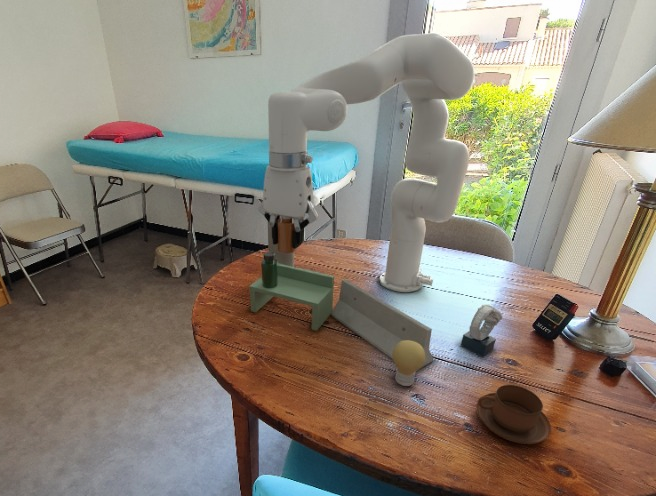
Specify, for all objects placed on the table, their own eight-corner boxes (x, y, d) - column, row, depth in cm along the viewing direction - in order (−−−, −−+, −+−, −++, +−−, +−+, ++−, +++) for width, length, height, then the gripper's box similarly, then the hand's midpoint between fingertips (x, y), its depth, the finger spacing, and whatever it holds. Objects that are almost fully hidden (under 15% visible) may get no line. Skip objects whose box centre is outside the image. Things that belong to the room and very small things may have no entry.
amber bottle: (299, 248, 91) (300, 209, 87) (291, 254, 88) (291, 214, 83) (283, 244, 93) (283, 206, 88) (274, 251, 90) (273, 211, 85)
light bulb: (421, 376, 87) (429, 338, 82) (417, 396, 82) (425, 357, 77) (391, 368, 89) (397, 331, 84) (385, 387, 84) (391, 348, 79)
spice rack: (332, 312, 110) (334, 275, 105) (317, 330, 103) (318, 292, 97) (268, 295, 119) (267, 260, 114) (250, 311, 111) (248, 275, 106)
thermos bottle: (270, 272, 132) (268, 187, 119) (294, 272, 132) (295, 187, 118) (267, 283, 125) (265, 194, 112) (293, 284, 125) (293, 195, 111)
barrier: (330, 315, 109) (332, 282, 104) (350, 307, 112) (353, 275, 107) (411, 372, 88) (418, 335, 83) (433, 361, 91) (441, 324, 86)
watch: (497, 346, 95) (509, 307, 90) (478, 360, 91) (490, 319, 86) (474, 335, 99) (485, 297, 94) (455, 348, 95) (465, 308, 90)
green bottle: (280, 283, 109) (280, 252, 104) (272, 289, 105) (272, 258, 101) (267, 279, 110) (266, 249, 106) (259, 286, 107) (257, 255, 103)
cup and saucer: (493, 450, 70) (502, 425, 67) (464, 400, 80) (470, 376, 77) (562, 449, 70) (575, 424, 67) (524, 399, 80) (533, 375, 77)
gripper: (333, 160, 80) (328, 245, 89) (261, 153, 87) (263, 232, 96) (318, 167, 74) (314, 258, 83) (242, 159, 82) (246, 243, 91)
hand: (287, 243), depth 90 cm, fingers closed on amber bottle, 4 cm apart
